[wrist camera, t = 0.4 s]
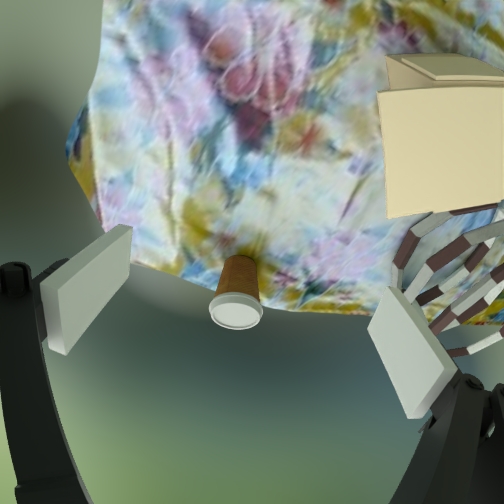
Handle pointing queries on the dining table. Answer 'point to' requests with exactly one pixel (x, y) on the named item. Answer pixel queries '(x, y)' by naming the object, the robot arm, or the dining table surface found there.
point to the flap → (441, 147)
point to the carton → (441, 76)
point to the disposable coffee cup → (237, 295)
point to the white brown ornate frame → (453, 274)
